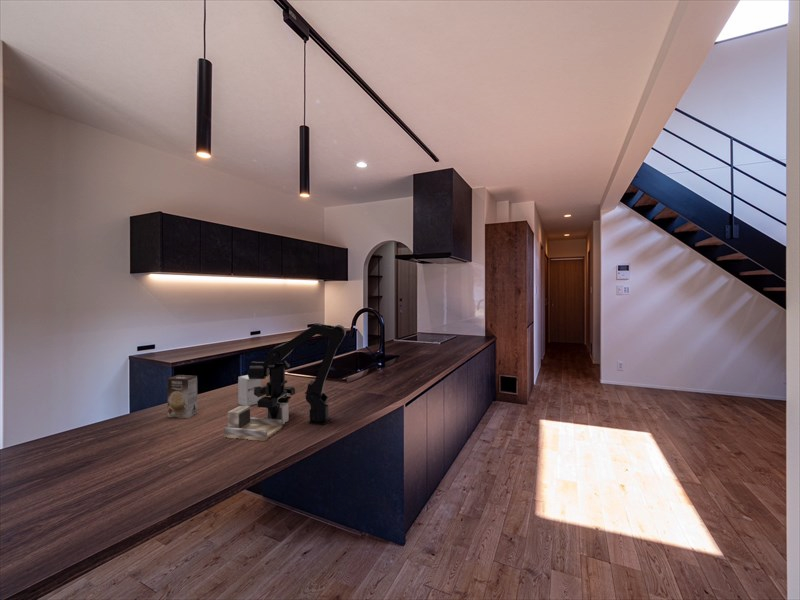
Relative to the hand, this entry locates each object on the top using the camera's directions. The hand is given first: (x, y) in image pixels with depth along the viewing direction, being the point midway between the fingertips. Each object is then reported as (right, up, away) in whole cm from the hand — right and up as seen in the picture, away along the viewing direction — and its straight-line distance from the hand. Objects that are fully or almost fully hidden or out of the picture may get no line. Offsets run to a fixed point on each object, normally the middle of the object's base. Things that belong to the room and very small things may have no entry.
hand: (277, 418), depth 137 cm
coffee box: (-41, -1, +7) cm, 42 cm away
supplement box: (-20, -1, +22) cm, 30 cm away
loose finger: (0, -2, 0) cm, 2 cm away
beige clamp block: (-5, -2, -10) cm, 12 cm away
